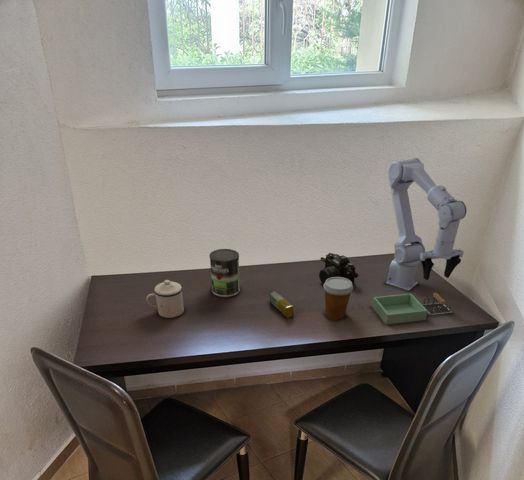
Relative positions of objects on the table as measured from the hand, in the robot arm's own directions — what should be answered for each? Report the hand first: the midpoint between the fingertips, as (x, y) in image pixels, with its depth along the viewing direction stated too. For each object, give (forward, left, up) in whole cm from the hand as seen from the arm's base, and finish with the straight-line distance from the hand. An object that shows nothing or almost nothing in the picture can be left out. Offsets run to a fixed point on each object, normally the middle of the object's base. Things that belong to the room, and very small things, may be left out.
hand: (436, 277), depth 157 cm
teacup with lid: (-66, -64, -10) cm, 92 cm away
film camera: (-34, -9, -10) cm, 36 cm away
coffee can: (-61, -40, -10) cm, 74 cm away
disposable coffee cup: (-21, -29, -10) cm, 37 cm away
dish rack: (+4, -4, -9) cm, 11 cm away
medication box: (-37, -38, -10) cm, 54 cm away
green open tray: (-5, -15, -9) cm, 18 cm away
